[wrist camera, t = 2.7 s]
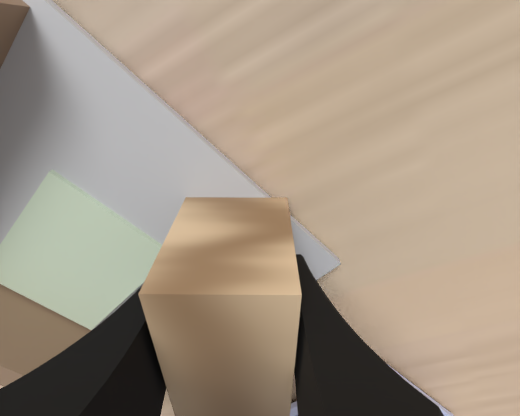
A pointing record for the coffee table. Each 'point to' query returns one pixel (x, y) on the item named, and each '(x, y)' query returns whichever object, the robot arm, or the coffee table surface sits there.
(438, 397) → the coffee table surface
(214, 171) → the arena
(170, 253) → the oak block
